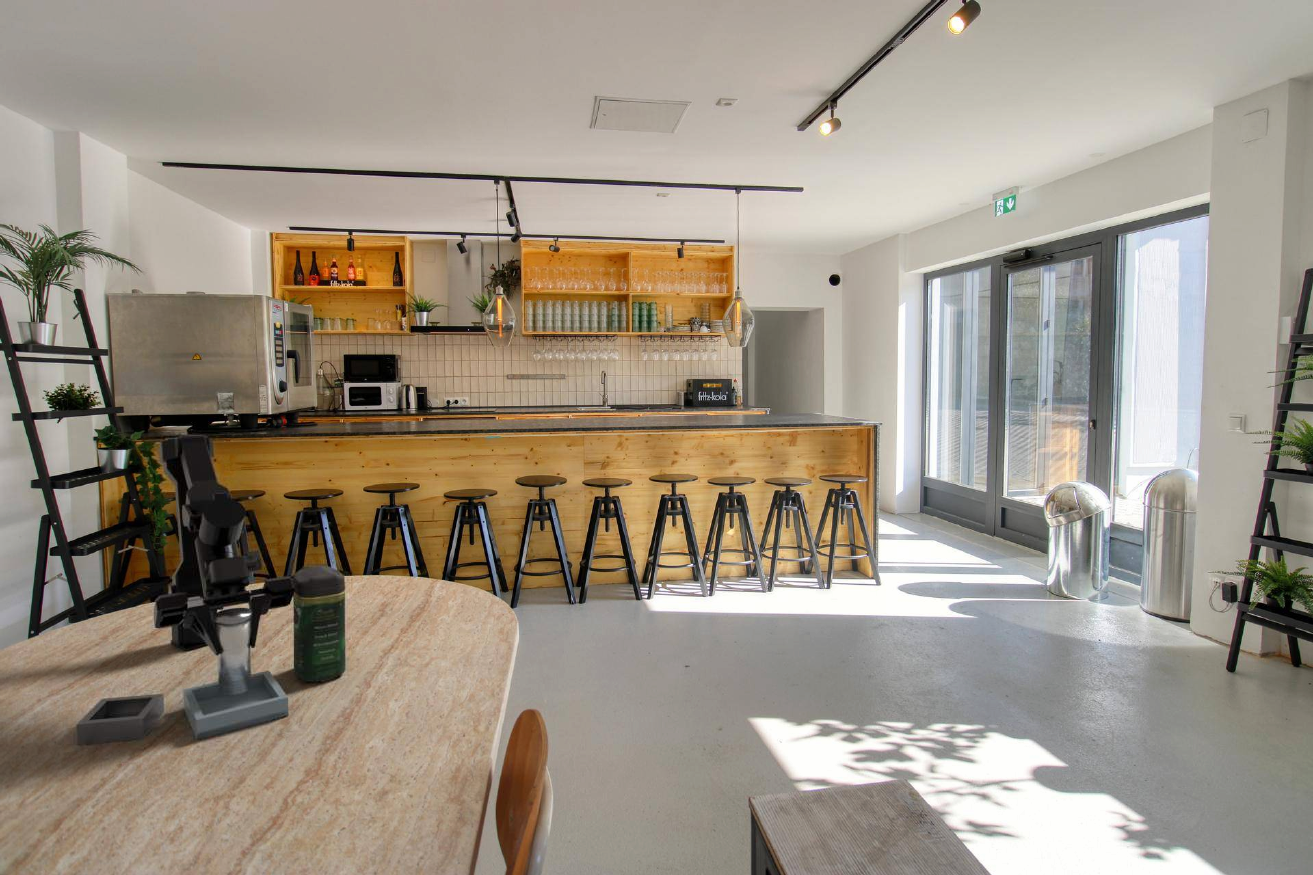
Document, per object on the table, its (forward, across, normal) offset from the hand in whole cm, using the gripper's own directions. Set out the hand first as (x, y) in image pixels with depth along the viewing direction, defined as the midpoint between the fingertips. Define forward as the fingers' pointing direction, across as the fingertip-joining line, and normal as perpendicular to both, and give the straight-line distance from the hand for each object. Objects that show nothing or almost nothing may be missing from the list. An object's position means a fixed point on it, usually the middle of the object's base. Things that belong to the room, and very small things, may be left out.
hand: (235, 650), depth 111 cm
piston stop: (+4, 0, +6) cm, 7 cm away
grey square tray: (+4, -14, +11) cm, 18 cm away
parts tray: (+6, 0, +8) cm, 10 cm away
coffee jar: (+1, +14, +14) cm, 20 cm away
